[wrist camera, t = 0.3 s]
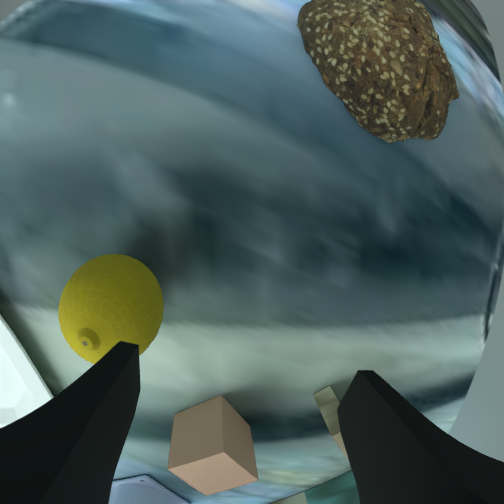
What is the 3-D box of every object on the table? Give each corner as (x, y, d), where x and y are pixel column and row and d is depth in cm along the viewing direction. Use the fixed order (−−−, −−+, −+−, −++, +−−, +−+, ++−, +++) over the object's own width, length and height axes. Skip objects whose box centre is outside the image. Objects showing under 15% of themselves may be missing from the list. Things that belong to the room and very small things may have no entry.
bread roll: (276, 4, 15) (291, -35, 10) (406, -4, 15) (436, -28, 11) (349, 166, 18) (387, 164, 14) (465, 128, 19) (507, 124, 14)
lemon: (177, 248, 18) (148, 295, 10) (169, 327, 19) (146, 405, 12) (95, 235, 17) (27, 271, 10) (94, 313, 19) (42, 377, 11)
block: (205, 442, 22) (206, 495, 17) (174, 413, 21) (167, 468, 15) (249, 425, 22) (258, 480, 16) (221, 394, 21) (223, 451, 15)
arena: (257, 512, 27) (262, 542, 22) (171, 452, 22) (167, 493, 18) (374, 463, 26) (390, 493, 21) (329, 385, 22) (351, 426, 17)
